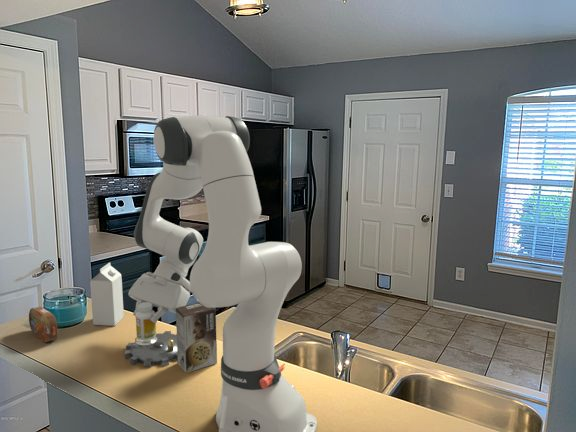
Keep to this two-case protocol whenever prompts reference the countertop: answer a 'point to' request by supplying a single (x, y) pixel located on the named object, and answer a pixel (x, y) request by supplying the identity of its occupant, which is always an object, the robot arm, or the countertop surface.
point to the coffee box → (196, 336)
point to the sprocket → (153, 350)
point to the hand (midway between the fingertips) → (143, 319)
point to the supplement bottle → (145, 322)
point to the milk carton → (107, 297)
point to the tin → (43, 324)
